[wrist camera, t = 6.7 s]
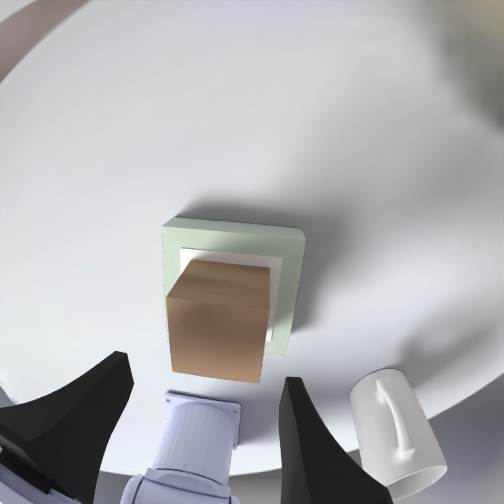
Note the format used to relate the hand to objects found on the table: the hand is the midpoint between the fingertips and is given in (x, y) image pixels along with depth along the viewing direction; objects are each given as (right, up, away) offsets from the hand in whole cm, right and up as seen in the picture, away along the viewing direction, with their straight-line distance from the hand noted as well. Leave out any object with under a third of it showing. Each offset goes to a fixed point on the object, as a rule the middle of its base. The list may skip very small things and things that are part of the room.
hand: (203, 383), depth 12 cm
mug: (+14, -7, +13) cm, 20 cm away
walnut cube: (+1, +3, +7) cm, 8 cm away
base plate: (+1, +4, +10) cm, 10 cm away
